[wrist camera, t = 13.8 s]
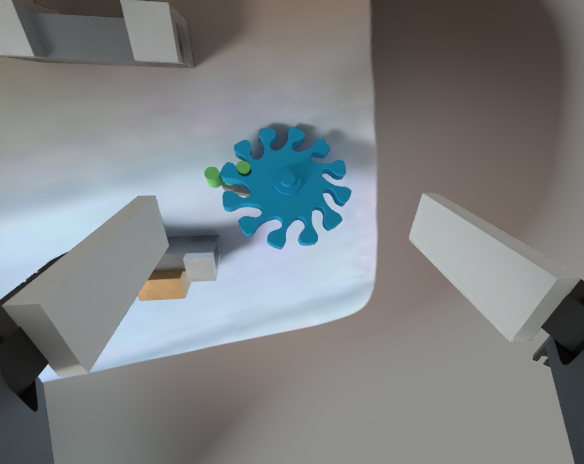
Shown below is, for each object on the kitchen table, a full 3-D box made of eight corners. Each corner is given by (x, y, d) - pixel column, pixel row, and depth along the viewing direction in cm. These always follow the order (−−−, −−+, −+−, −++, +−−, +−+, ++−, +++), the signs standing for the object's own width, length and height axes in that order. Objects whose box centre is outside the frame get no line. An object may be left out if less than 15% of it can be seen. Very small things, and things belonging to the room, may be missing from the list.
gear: (359, 136, 19) (347, 257, 16) (337, 173, 25) (325, 268, 22) (222, 105, 19) (184, 226, 16) (231, 150, 24) (204, 246, 21)
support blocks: (126, 274, 25) (105, 302, 22) (20, 11, 15) (-53, -14, 12) (223, 269, 26) (217, 296, 23) (187, 21, 16) (166, 1, 13)
